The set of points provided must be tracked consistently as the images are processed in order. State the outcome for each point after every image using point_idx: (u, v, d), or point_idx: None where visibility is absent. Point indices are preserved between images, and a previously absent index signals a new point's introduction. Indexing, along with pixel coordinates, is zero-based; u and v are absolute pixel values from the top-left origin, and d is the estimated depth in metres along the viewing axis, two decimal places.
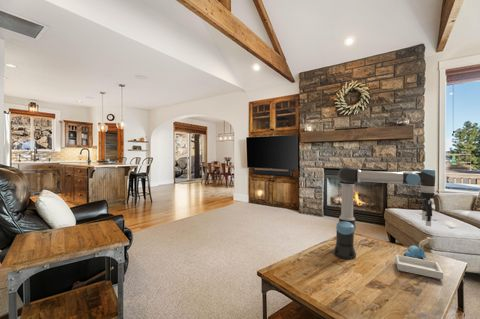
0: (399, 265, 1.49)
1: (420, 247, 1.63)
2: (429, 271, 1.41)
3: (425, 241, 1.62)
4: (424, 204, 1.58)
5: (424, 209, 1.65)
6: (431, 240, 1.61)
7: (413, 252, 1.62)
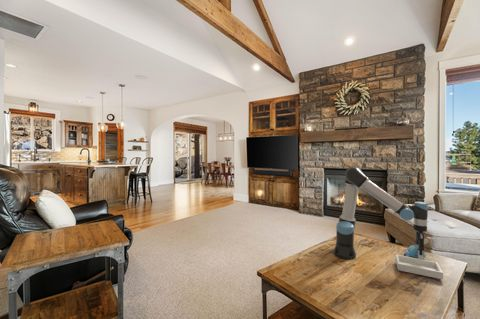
0: (399, 265, 1.49)
1: None
2: (429, 271, 1.41)
3: (425, 241, 1.62)
4: (417, 237, 1.62)
5: (417, 242, 1.67)
6: (431, 240, 1.61)
7: (413, 252, 1.62)
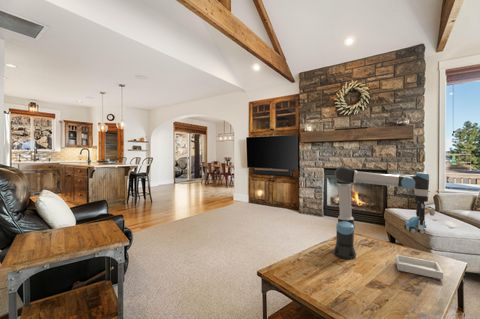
0: (399, 265, 1.49)
1: None
2: (429, 271, 1.41)
3: (426, 212, 1.62)
4: (417, 207, 1.61)
5: (418, 214, 1.67)
6: (432, 210, 1.60)
7: (413, 222, 1.61)
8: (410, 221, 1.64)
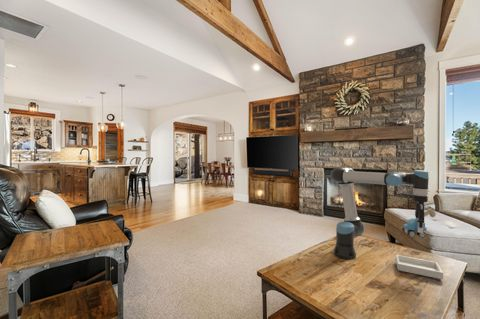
0: (399, 265, 1.49)
1: None
2: (429, 271, 1.41)
3: (426, 213, 1.48)
4: (416, 208, 1.48)
5: (417, 215, 1.53)
6: (432, 211, 1.47)
7: (412, 225, 1.47)
8: (409, 223, 1.50)
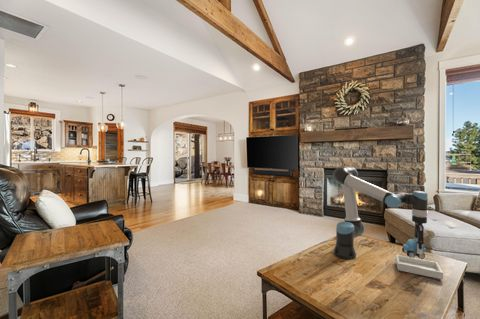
0: (399, 265, 1.49)
1: None
2: (429, 271, 1.41)
3: (425, 234, 1.49)
4: (416, 229, 1.49)
5: (417, 235, 1.54)
6: (431, 232, 1.47)
7: (412, 246, 1.48)
8: (408, 244, 1.51)
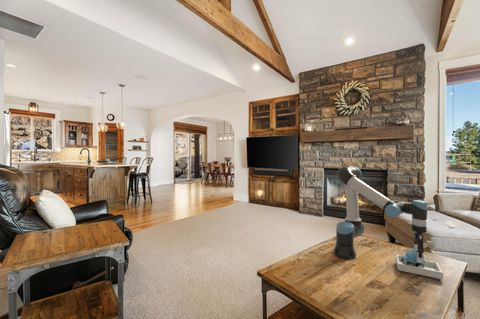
0: (399, 265, 1.49)
1: None
2: (429, 271, 1.41)
3: (424, 245, 1.49)
4: (415, 238, 1.48)
5: (416, 242, 1.55)
6: (431, 244, 1.47)
7: (411, 257, 1.48)
8: (407, 255, 1.51)
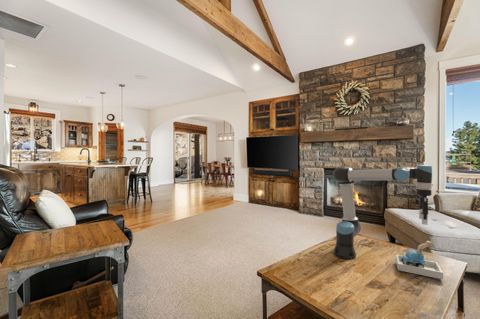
0: (399, 265, 1.49)
1: (419, 251, 1.50)
2: (429, 271, 1.41)
3: (424, 245, 1.49)
4: (420, 202, 1.51)
5: (421, 207, 1.58)
6: (431, 244, 1.47)
7: (411, 257, 1.48)
8: (407, 255, 1.51)
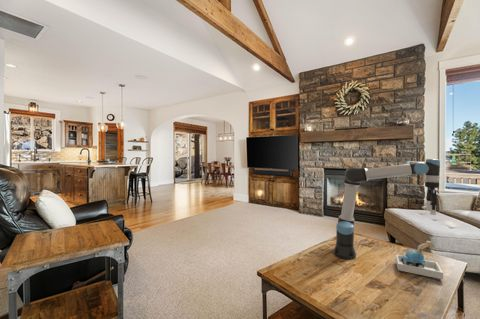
0: (399, 265, 1.49)
1: (419, 251, 1.50)
2: (429, 271, 1.41)
3: (424, 245, 1.49)
4: (429, 193, 1.60)
5: (428, 199, 1.67)
6: (431, 244, 1.47)
7: (411, 257, 1.48)
8: (407, 255, 1.51)
